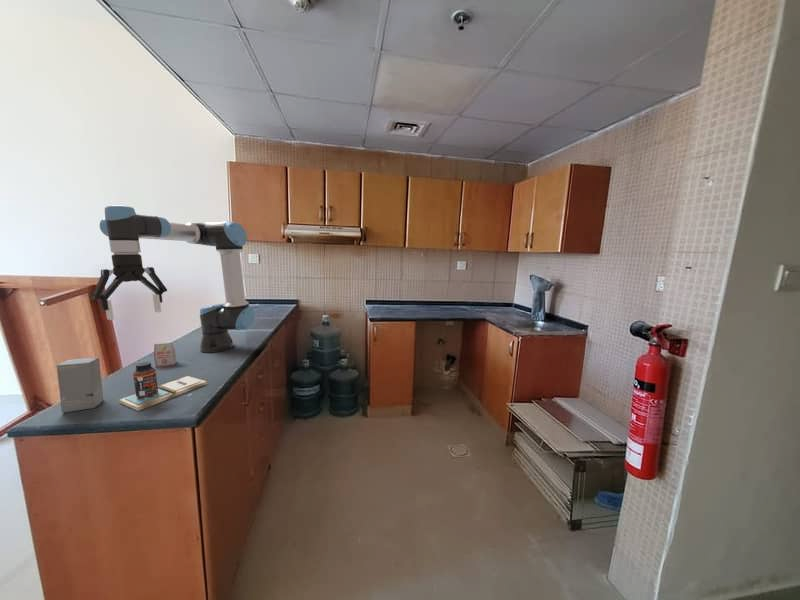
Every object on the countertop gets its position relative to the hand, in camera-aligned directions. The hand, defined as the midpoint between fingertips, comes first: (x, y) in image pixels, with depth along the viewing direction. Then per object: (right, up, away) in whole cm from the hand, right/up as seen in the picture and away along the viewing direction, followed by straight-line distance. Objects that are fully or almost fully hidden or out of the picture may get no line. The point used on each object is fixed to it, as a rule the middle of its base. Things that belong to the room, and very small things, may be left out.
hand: (135, 315), depth 106 cm
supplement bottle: (+4, -28, 0) cm, 28 cm away
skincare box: (-13, -30, -4) cm, 33 cm away
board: (+7, -28, +5) cm, 29 cm away
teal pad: (+4, -28, 0) cm, 28 cm away
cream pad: (+9, -26, +9) cm, 29 cm away
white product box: (-15, -24, +33) cm, 43 cm away
